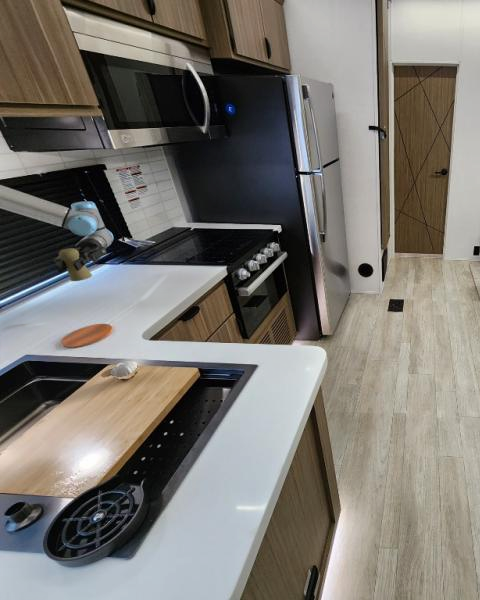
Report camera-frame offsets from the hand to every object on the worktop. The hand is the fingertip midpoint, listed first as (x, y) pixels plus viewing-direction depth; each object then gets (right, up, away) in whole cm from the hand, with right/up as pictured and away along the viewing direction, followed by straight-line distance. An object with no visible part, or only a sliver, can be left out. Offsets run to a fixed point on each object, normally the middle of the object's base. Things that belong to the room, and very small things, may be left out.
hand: (67, 268), depth 114 cm
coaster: (+12, -23, -5) cm, 26 cm away
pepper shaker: (-2, -3, +7) cm, 8 cm away
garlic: (+40, -33, -22) cm, 56 cm away
